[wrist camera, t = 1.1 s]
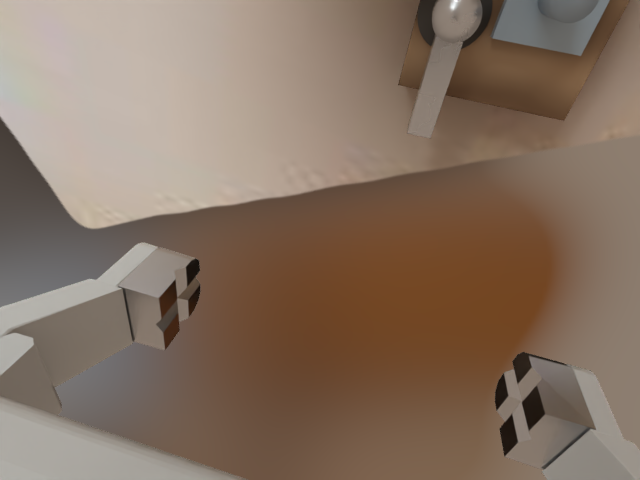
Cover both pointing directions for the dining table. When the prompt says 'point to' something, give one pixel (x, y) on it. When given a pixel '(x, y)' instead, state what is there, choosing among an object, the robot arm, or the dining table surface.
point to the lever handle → (442, 59)
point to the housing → (510, 64)
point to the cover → (549, 23)
